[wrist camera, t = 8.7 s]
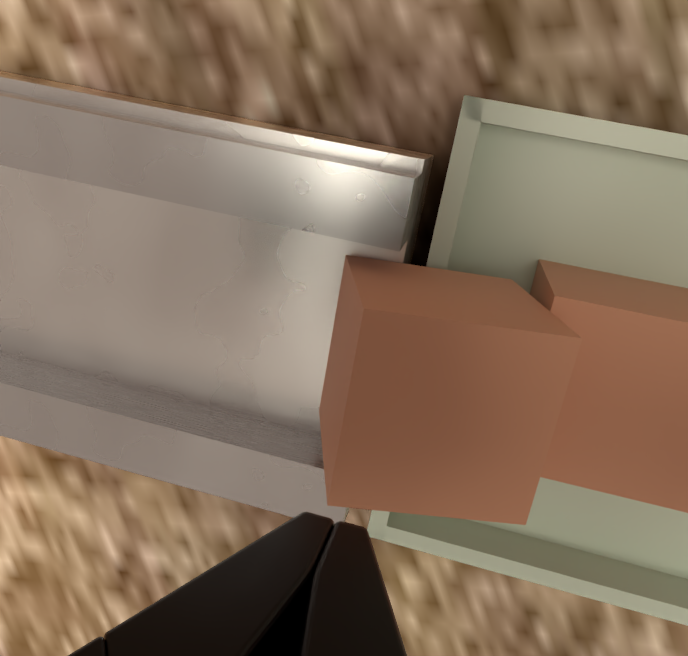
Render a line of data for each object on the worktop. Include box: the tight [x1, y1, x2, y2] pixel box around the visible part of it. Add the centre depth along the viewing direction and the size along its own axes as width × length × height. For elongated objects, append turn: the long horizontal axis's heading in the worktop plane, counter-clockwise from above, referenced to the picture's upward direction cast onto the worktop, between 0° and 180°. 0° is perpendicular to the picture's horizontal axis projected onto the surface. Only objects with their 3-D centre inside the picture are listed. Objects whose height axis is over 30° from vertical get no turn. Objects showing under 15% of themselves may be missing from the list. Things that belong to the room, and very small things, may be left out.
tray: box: [367, 95, 688, 626], centre depth 17 cm, size 12×12×2 cm
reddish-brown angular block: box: [319, 255, 582, 525], centre depth 14 cm, size 4×4×4 cm
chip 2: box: [530, 259, 688, 513], centre depth 15 cm, size 4×4×4 cm
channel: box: [0, 71, 434, 524], centre depth 18 cm, size 9×15×5 cm, turn 80°
